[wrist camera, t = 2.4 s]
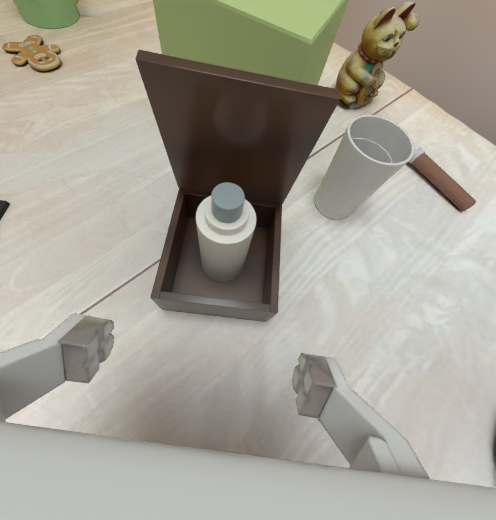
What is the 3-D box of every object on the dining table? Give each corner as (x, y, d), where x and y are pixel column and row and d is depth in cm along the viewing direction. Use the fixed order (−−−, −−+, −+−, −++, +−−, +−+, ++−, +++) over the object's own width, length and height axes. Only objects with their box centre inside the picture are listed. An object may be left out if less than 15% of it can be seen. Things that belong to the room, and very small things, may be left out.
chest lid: (340, 99, 15) (340, 89, 15) (135, 59, 14) (138, 49, 14) (282, 203, 29) (283, 197, 29) (178, 187, 28) (179, 181, 28)
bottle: (241, 284, 30) (260, 230, 17) (198, 278, 29) (186, 219, 17) (245, 246, 32) (264, 174, 20) (205, 240, 32) (199, 163, 19)
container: (306, 114, 46) (367, -50, 27) (273, 168, 39) (324, 1, 21) (219, 75, 47) (222, -107, 29) (173, 121, 40) (139, -76, 22)
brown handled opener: (468, 205, 43) (486, 195, 40) (450, 220, 41) (468, 210, 38) (387, 129, 47) (399, 115, 44) (368, 139, 45) (378, 125, 42)
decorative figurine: (346, 116, 47) (400, 16, 33) (319, 91, 49) (359, -13, 35) (377, 103, 50) (438, 6, 36) (351, 80, 52) (399, -20, 39)
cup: (364, 222, 37) (426, 164, 26) (317, 226, 36) (361, 166, 25) (347, 182, 40) (397, 114, 29) (303, 184, 39) (338, 114, 28)
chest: (266, 321, 29) (277, 312, 24) (162, 309, 28) (150, 297, 23) (271, 227, 35) (282, 203, 29) (185, 214, 34) (179, 187, 28)
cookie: (39, 29, 44) (73, 55, 42) (43, 36, 45) (75, 61, 43) (-8, 43, 41) (26, 72, 39) (-3, 50, 42) (30, 78, 40)
